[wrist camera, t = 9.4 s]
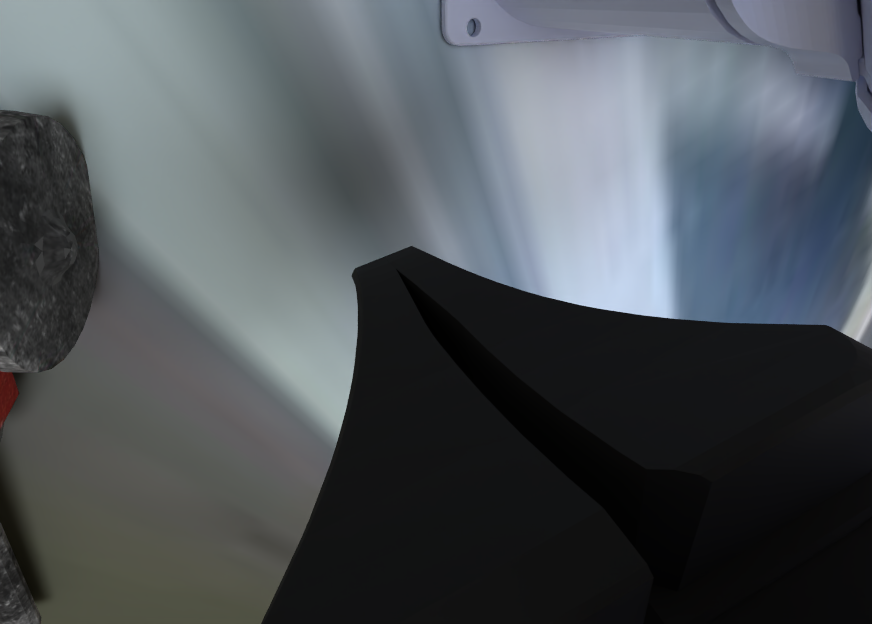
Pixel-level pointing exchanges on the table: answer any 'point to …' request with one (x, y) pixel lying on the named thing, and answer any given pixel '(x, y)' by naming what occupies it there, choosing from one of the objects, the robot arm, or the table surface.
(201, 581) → the table surface
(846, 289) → the table surface
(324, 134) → the table surface
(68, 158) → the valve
